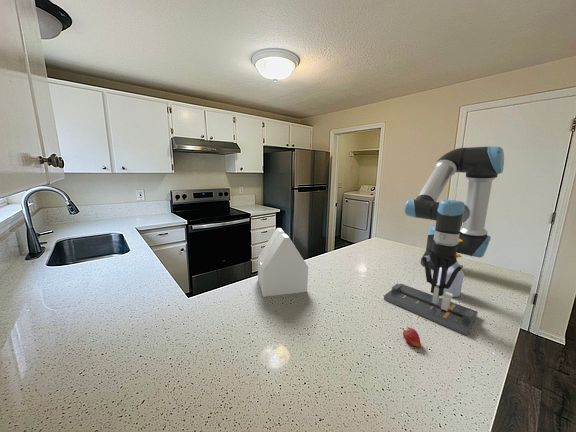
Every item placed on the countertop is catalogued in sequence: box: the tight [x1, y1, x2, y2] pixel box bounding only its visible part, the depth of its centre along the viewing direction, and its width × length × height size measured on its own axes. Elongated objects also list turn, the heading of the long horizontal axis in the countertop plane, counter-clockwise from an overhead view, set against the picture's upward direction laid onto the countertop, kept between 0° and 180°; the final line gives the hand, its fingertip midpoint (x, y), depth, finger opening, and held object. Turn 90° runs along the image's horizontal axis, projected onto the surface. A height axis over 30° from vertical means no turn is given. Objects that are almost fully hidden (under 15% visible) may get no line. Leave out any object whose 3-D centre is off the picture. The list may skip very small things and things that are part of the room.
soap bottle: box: [437, 239, 465, 298], centre depth 102 cm, size 9×9×25 cm
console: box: [383, 283, 479, 336], centre depth 92 cm, size 16×28×4 cm, turn 42°
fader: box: [440, 292, 454, 311], centre depth 87 cm, size 5×2×5 cm, turn 132°
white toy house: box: [257, 227, 309, 298], centre depth 104 cm, size 19×15×25 cm
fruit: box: [402, 325, 422, 349], centre depth 72 cm, size 4×6×5 cm
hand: (435, 302), depth 90 cm, fingers closed
